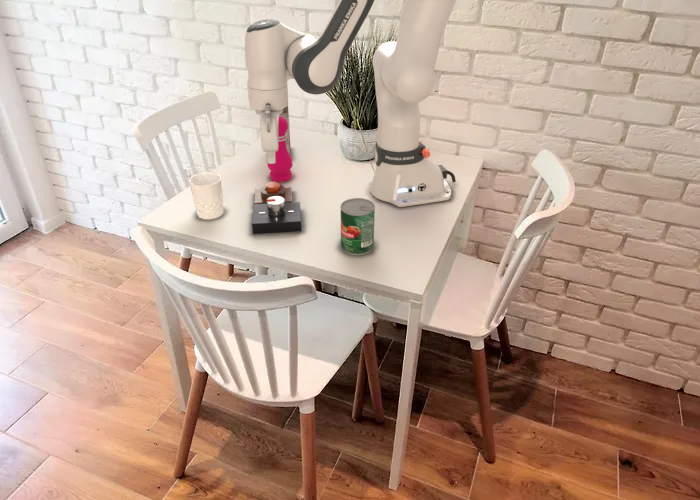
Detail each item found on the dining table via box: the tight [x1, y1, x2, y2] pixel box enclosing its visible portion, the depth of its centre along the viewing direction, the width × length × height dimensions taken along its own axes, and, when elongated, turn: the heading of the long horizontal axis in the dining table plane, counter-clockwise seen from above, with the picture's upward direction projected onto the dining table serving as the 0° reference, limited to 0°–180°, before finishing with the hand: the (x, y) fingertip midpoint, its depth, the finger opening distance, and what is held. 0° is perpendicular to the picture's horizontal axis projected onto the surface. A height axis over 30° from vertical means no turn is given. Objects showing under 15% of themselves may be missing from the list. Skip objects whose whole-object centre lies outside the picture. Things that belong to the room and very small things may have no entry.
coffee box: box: [280, 104, 292, 157], centre depth 173 cm, size 9×6×16 cm
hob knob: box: [267, 196, 285, 217], centre depth 140 cm, size 4×4×4 cm
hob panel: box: [251, 201, 303, 235], centre depth 142 cm, size 12×10×3 cm
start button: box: [265, 181, 280, 193], centre depth 151 cm, size 4×4×2 cm
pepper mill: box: [267, 114, 293, 183], centre depth 159 cm, size 7×7×20 cm
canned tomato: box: [340, 197, 376, 256], centre depth 131 cm, size 8×8×11 cm
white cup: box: [188, 171, 224, 220], centre depth 144 cm, size 8×8×10 cm
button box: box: [253, 183, 293, 204], centre depth 152 cm, size 10×8×4 cm
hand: (272, 154), depth 134 cm, fingers open, 8 cm apart
